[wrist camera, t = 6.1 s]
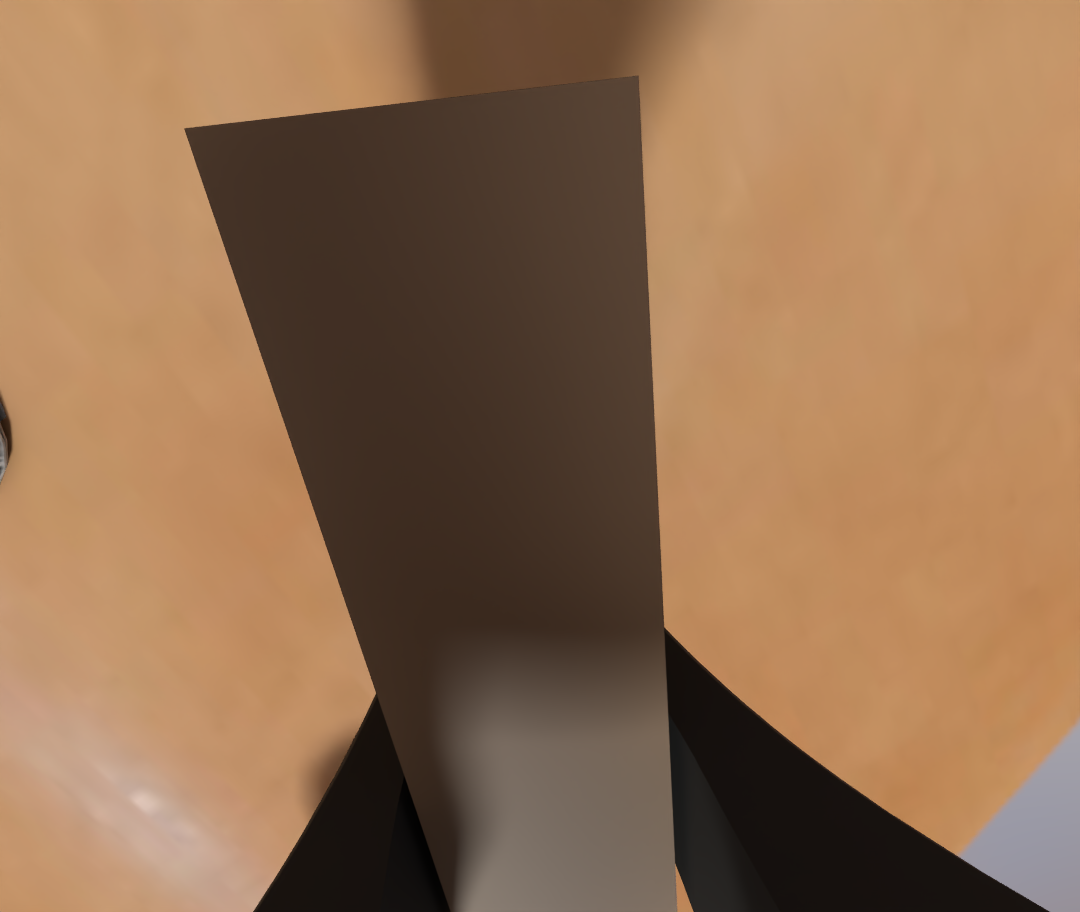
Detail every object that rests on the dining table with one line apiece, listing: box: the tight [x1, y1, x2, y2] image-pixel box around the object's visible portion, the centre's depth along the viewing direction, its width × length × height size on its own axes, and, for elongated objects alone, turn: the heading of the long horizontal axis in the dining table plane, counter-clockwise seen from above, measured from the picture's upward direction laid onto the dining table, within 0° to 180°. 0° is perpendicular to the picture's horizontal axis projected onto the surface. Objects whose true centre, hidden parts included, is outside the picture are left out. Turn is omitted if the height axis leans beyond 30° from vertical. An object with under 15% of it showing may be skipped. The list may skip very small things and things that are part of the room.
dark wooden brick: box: [185, 76, 677, 912], centre depth 9 cm, size 3×14×6 cm, turn 7°
